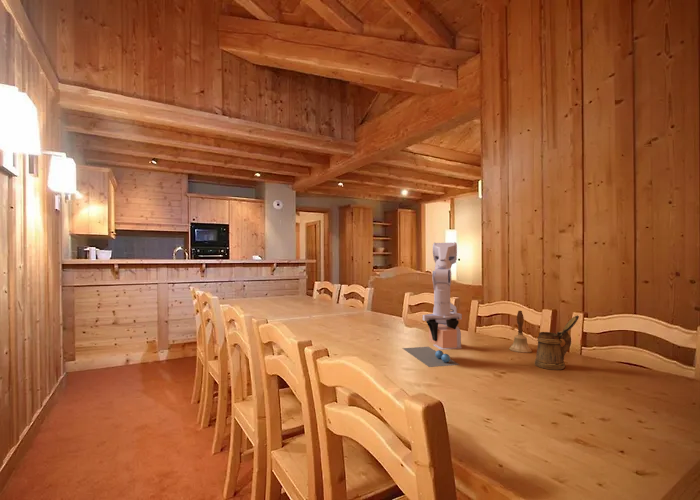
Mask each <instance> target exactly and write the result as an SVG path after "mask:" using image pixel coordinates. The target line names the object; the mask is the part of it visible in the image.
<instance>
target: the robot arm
mask: <svg viewBox="0 0 700 500" xmlns="http://www.w3.org/2000/svg"><path fill="white" fill-rule="evenodd" d="M432 256H433V261H434V263H435V265H434V270H432V273H431V276H432V277H431V280H432V288H433V310H432V313H427V314H422V321H424V322H426V325H427V326H428V329H429V328H430V331H431V334H432V338H433V340H434V341H437V328H438V324H443V325H445V326H448V327H450V328H453V329H455V330H457V347H456V348H441V347H439V346H438V345H436V344H434V343H433V344H432V346H434V347H435V348H437V349H438V350H441V351H443V350H455V349H457V350H459V349H462V332H461V329H460V327H459V326H458V325H459V322H460V321H459V320H462V319H463V318H462V317H463V314H462V313H459V312H458V308H457V306H456V305H455V304H453V303H452V302H451V285H452V270H451V269H452V267H453V264H455V263H457V256H458V245H457V242H455V241H454V242H433V244H432Z"/></svg>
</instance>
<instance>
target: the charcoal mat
mask: <svg viewBox="0 0 700 500" xmlns="http://www.w3.org/2000/svg"><path fill="white" fill-rule="evenodd" d="M402 350H404V351H406V353H408V354H410V355H411V356H413V357H414V358H415V359H416V360H419V361H420V362H421V363H422V364H424V365H425V366H426V367H428V368H435V367H437V368H438V367H448V366H450V367H451V366H460V365H461V364H460V363H458V362H456V361H454V360H453V359H451V358H450V361H449V362H447V363H446V362H443V361H442V359H438V358H437V357H436V355H435V353H436V351H437V350H435V349H434V348H432V347H430V346H420V347H418V346H417V347H403V348H402Z"/></svg>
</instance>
